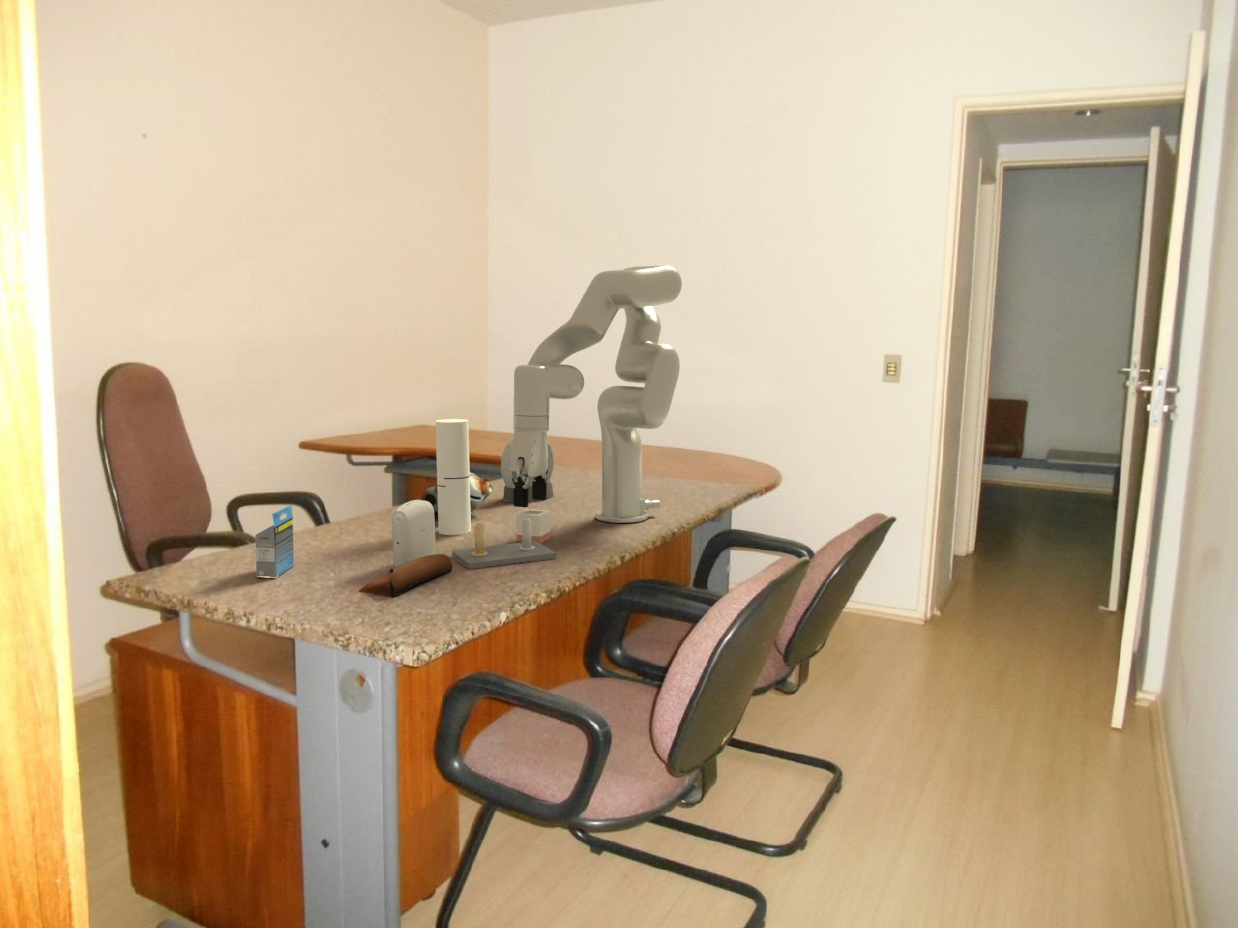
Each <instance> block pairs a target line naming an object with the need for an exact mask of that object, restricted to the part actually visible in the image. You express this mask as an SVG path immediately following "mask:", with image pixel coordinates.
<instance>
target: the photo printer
mask: <svg viewBox="0 0 1238 928" xmlns="http://www.w3.org/2000/svg"><path fill="white" fill-rule="evenodd" d="M435 524H436V523H435V516H434V508H433V506H432V504H431V503H430V502H428V501H422V500H421V499H414V500H413V499H412V500H410V501H407V502H404V503H403V504H402V505H400V506H399V507H398V508H396V509H395V511H393V513H392V516H391V532H392V554H393V556H392V557H393V566H394V567H393V568H396V567H397V566H398V565H402V564H405V563H408V562H410V561H412V560H414V559H417V558H420V557H424V556H428V555H434V554H437V552H436V549H437V548H436V527H435Z"/></svg>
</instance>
